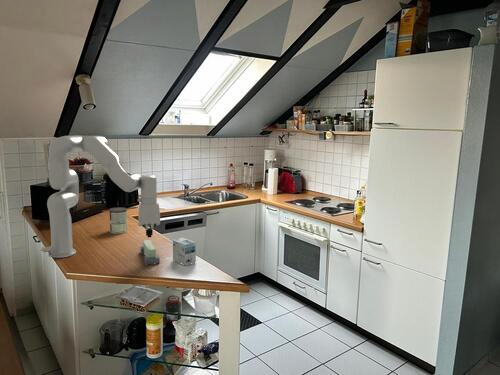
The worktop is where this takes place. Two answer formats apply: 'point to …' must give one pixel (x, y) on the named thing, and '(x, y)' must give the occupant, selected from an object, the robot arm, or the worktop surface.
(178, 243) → the light bulb box
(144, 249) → the slat
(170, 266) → the worktop surface
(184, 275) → the worktop surface
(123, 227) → the coffee can
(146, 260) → the end caps
